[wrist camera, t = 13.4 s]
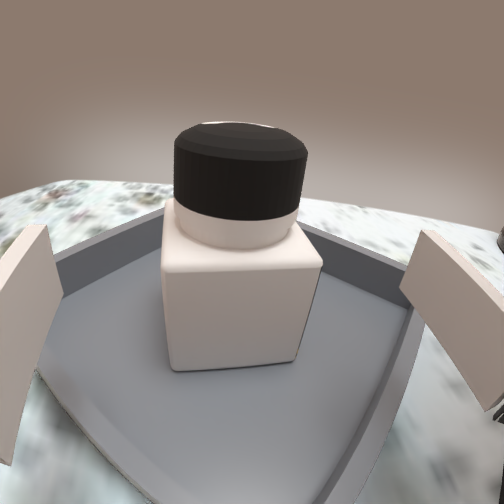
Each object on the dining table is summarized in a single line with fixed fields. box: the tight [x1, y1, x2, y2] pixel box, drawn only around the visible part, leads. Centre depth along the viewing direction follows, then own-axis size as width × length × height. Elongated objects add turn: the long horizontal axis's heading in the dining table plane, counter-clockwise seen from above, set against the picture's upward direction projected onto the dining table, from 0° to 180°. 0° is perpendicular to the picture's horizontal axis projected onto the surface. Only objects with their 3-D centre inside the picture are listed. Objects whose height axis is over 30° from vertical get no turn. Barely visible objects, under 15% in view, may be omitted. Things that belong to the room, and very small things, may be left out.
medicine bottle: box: [160, 122, 323, 371], centre depth 17 cm, size 7×7×12 cm
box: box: [36, 207, 425, 504], centre depth 19 cm, size 22×22×4 cm
